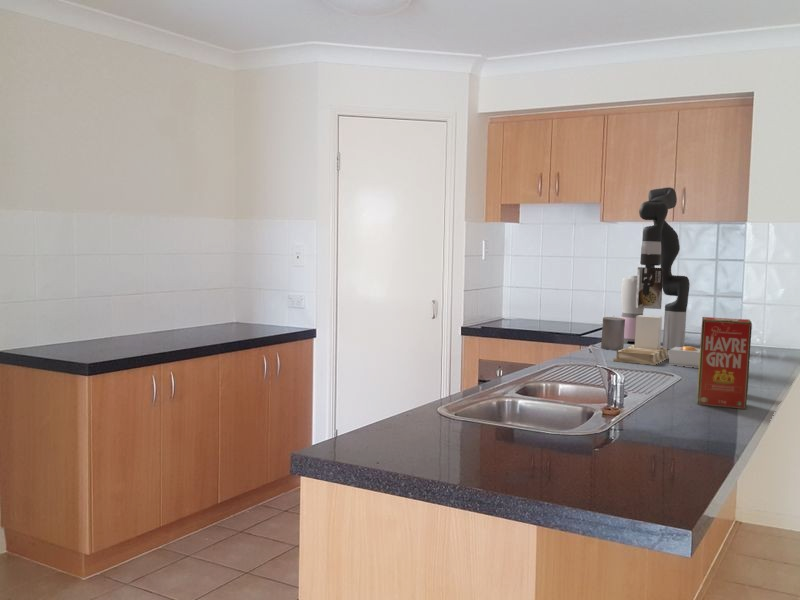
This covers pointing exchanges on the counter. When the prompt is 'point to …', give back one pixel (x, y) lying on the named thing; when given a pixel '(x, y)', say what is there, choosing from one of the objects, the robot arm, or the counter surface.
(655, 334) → the carton
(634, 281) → the blender
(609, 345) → the pillar candle
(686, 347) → the button
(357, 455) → the counter surface
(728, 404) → the food packaging
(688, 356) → the console
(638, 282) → the coffee box
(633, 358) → the pallet
